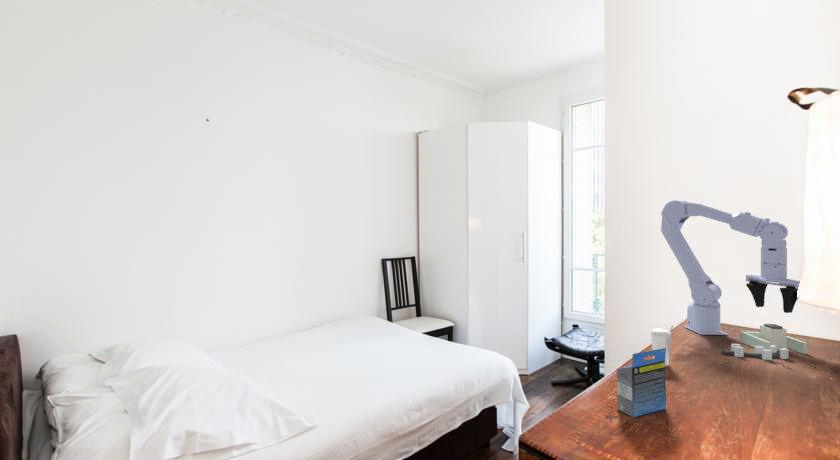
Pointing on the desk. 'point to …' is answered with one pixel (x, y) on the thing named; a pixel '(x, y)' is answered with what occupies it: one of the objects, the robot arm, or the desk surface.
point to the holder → (755, 340)
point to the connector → (774, 335)
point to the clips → (760, 351)
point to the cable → (750, 354)
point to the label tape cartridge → (642, 384)
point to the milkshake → (661, 341)
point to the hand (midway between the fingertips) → (773, 309)
